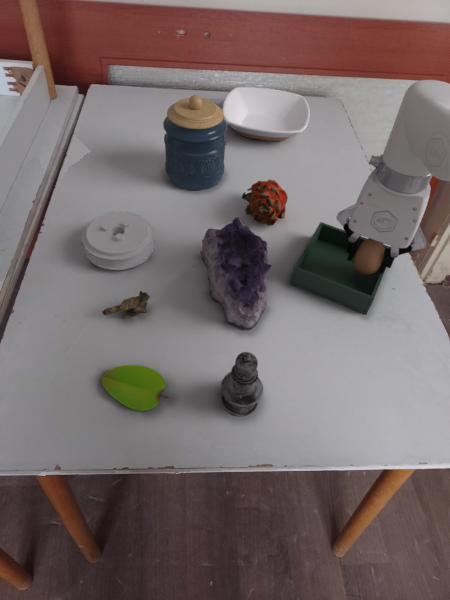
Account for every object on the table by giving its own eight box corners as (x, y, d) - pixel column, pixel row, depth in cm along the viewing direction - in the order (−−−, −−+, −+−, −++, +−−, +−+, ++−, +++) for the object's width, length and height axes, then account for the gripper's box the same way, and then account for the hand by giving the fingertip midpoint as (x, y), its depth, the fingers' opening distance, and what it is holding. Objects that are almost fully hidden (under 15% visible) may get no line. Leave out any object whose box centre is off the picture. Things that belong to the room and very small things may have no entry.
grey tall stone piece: (234, 374, 68) (242, 327, 58) (267, 396, 66) (280, 350, 57) (211, 402, 64) (215, 357, 55) (245, 426, 62) (254, 383, 53)
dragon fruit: (263, 243, 89) (255, 212, 98) (301, 221, 86) (289, 191, 95) (240, 213, 84) (234, 183, 93) (280, 189, 81) (269, 160, 90)
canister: (212, 197, 95) (216, 118, 81) (155, 183, 97) (150, 103, 84) (231, 165, 103) (237, 88, 90) (179, 152, 105) (177, 75, 92)
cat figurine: (156, 314, 74) (149, 299, 70) (109, 328, 73) (100, 314, 70) (153, 301, 75) (146, 286, 72) (107, 315, 75) (98, 301, 72)
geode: (288, 325, 74) (292, 288, 66) (220, 340, 74) (215, 304, 65) (258, 239, 86) (257, 199, 78) (199, 251, 85) (192, 211, 77)
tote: (386, 263, 85) (393, 248, 82) (366, 314, 77) (373, 299, 74) (316, 237, 89) (320, 221, 86) (289, 283, 80) (293, 267, 77)
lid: (115, 284, 78) (111, 264, 74) (71, 248, 83) (65, 227, 79) (168, 249, 84) (167, 229, 80) (125, 217, 89) (122, 197, 85)
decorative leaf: (128, 425, 62) (127, 423, 61) (97, 378, 66) (96, 375, 65) (175, 394, 65) (174, 392, 64) (143, 351, 69) (142, 348, 68)
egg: (377, 285, 79) (392, 252, 73) (348, 279, 80) (360, 247, 74) (376, 265, 83) (391, 232, 77) (348, 260, 83) (360, 227, 77)
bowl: (227, 102, 122) (229, 83, 118) (306, 112, 121) (310, 93, 117) (215, 144, 108) (216, 124, 104) (305, 156, 107) (309, 136, 103)
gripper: (340, 167, 65) (314, 257, 79) (460, 205, 61) (410, 294, 75) (354, 144, 70) (327, 233, 84) (467, 178, 65) (419, 266, 79)
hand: (367, 261), depth 79 cm, fingers closed on egg, 5 cm apart
